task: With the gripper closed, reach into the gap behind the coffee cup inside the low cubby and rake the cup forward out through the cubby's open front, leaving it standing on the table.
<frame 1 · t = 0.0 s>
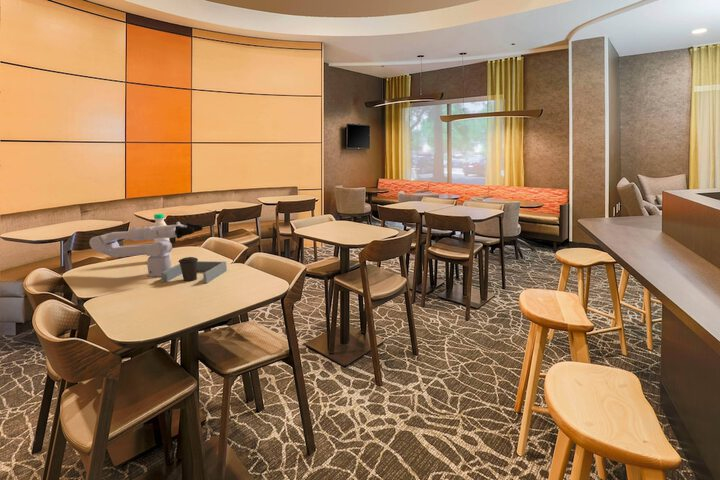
hand: (197, 229, 182), 22 cm above the table, tool horizontal, fingers open, 7 cm apart
cubby: (195, 276, 185), on the table
water bottle: (164, 261, 215), on the table
coffee cup: (190, 280, 180), on the table
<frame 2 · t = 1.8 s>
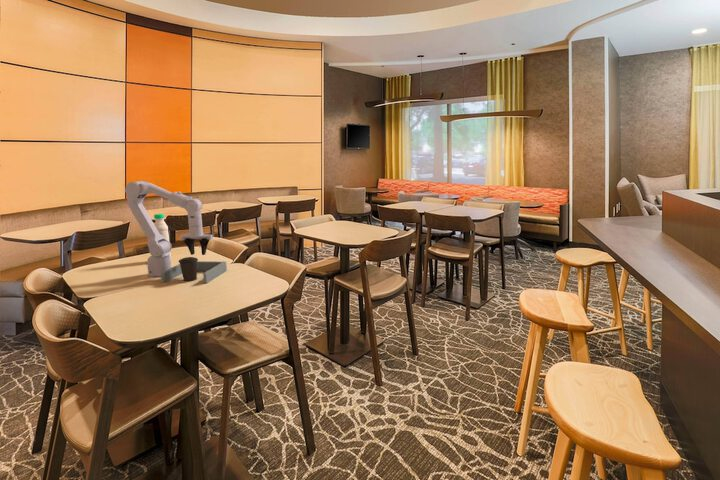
hand: (198, 254, 187), 9 cm above the table, tool pointing down, fingers open, 5 cm apart
nothing on the table moved.
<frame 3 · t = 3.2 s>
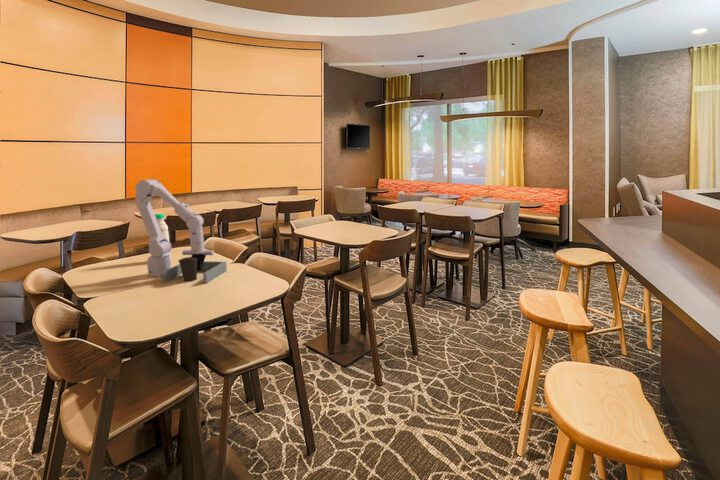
hand: (199, 270, 189), 2 cm above the table, tool pointing down, fingers closed
nothing on the table moved.
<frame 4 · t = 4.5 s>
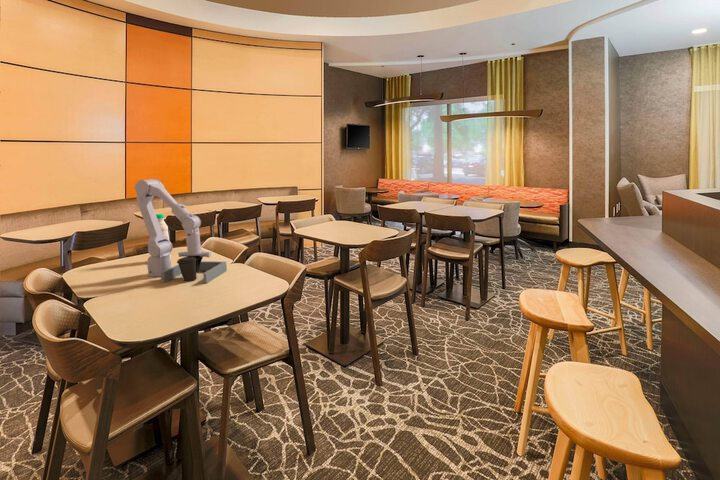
hand: (196, 271, 185), 2 cm above the table, tool pointing down, fingers closed
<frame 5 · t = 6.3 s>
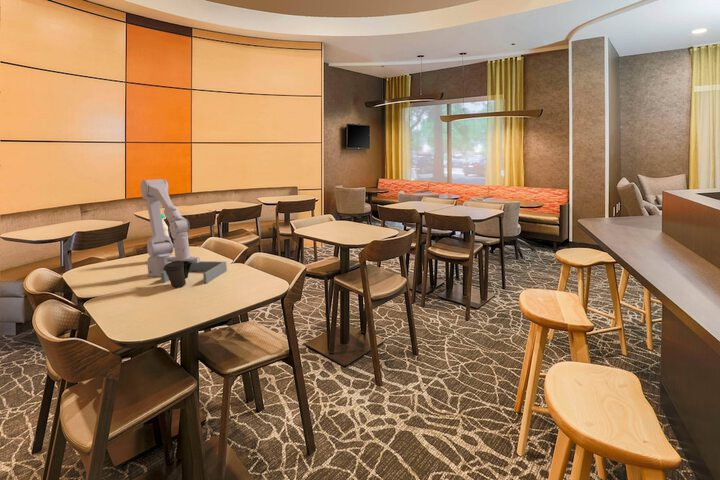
hand: (184, 278, 176), 2 cm above the table, tool pointing down, fingers closed, pressing on coffee cup
coffee cup: (179, 284, 171), on the table, touching gripper
everything else where it was.
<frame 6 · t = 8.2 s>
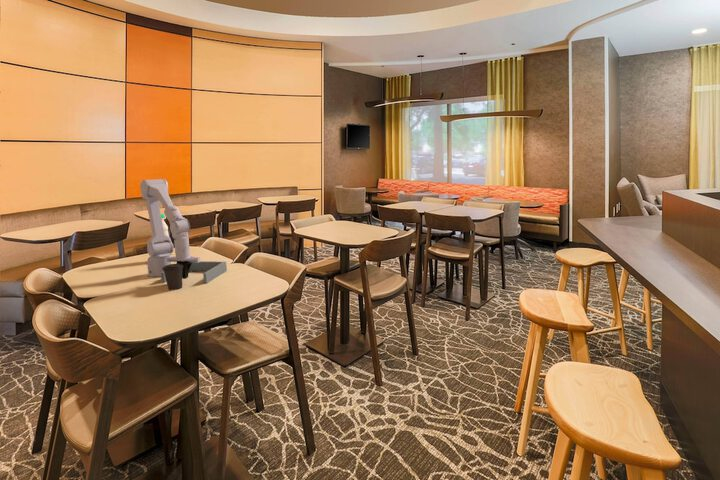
hand: (185, 278, 176), 2 cm above the table, tool pointing down, fingers closed
coffee cup: (175, 288, 169), on the table
everything else where it was.
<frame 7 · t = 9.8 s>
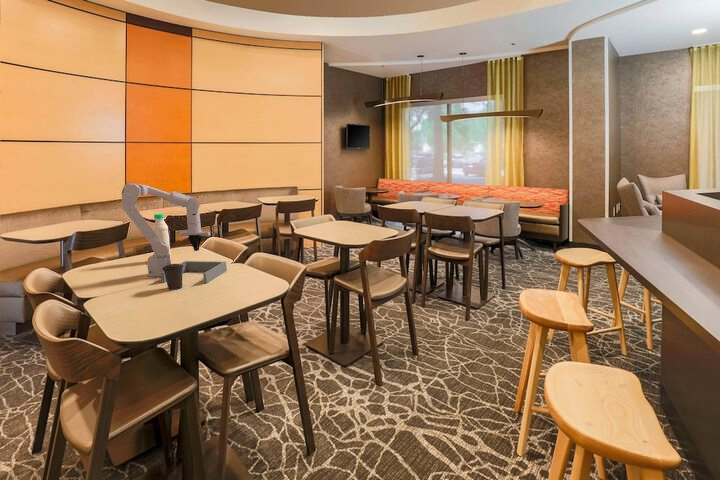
hand: (196, 250, 195), 9 cm above the table, tool pointing down, fingers closed
nothing on the table moved.
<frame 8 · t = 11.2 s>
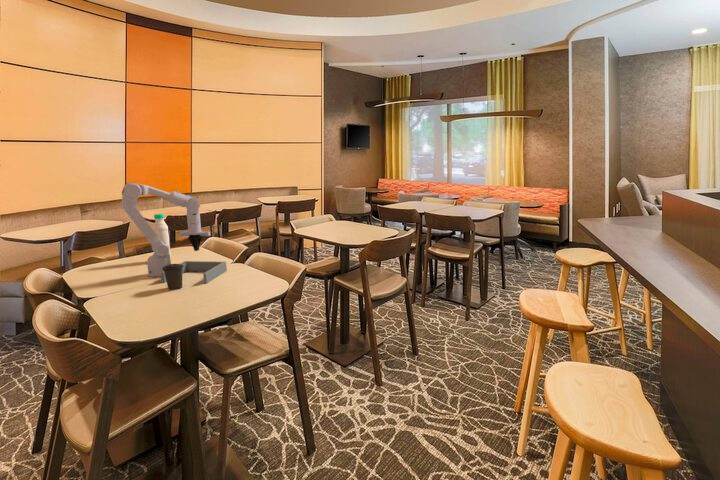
hand: (196, 250, 195), 9 cm above the table, tool pointing down, fingers closed
nothing on the table moved.
at the end: coffee cup inside the target area (3.7 cm from its centre), on the table; coffee cup tilted 0° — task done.
